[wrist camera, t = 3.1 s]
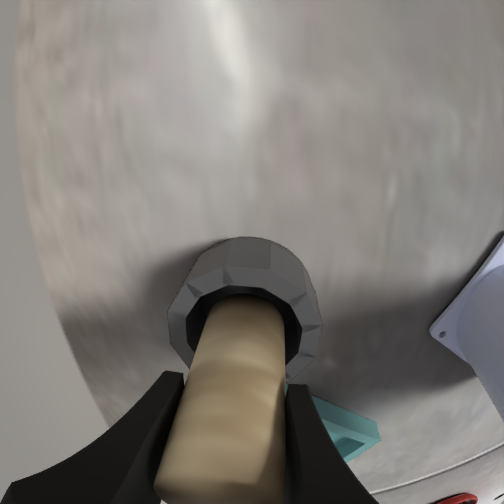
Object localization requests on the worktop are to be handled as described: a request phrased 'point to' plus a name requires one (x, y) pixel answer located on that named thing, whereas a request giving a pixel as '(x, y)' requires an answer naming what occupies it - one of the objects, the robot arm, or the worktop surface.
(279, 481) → the birch dowel
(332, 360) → the worktop surface
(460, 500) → the plant pot
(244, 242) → the dark gray cup
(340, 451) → the teal tray
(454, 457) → the worktop surface
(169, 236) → the worktop surface
